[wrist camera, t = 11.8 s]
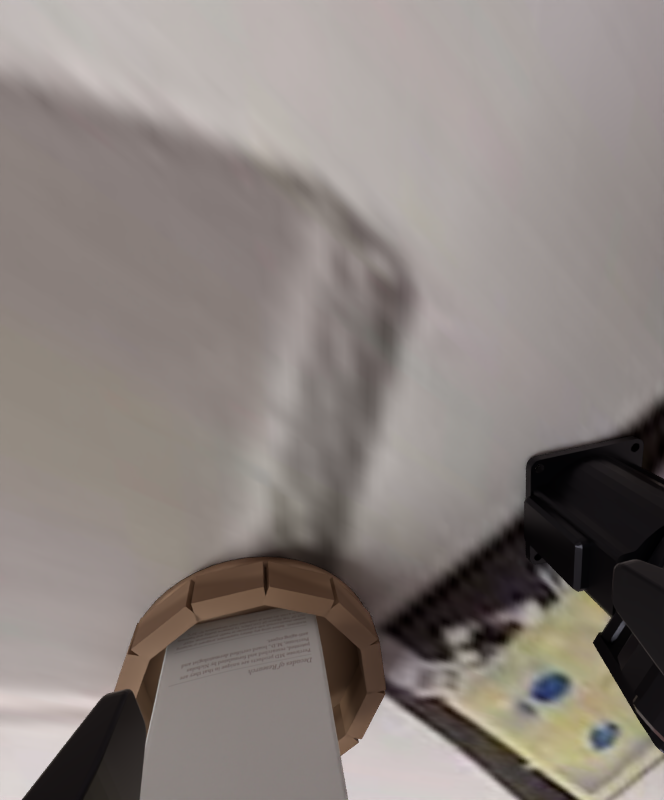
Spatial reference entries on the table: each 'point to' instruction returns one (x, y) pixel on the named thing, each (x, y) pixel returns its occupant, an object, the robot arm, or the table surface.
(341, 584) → the brown faceted round ring
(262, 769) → the supplement box
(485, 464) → the table surface
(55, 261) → the table surface
